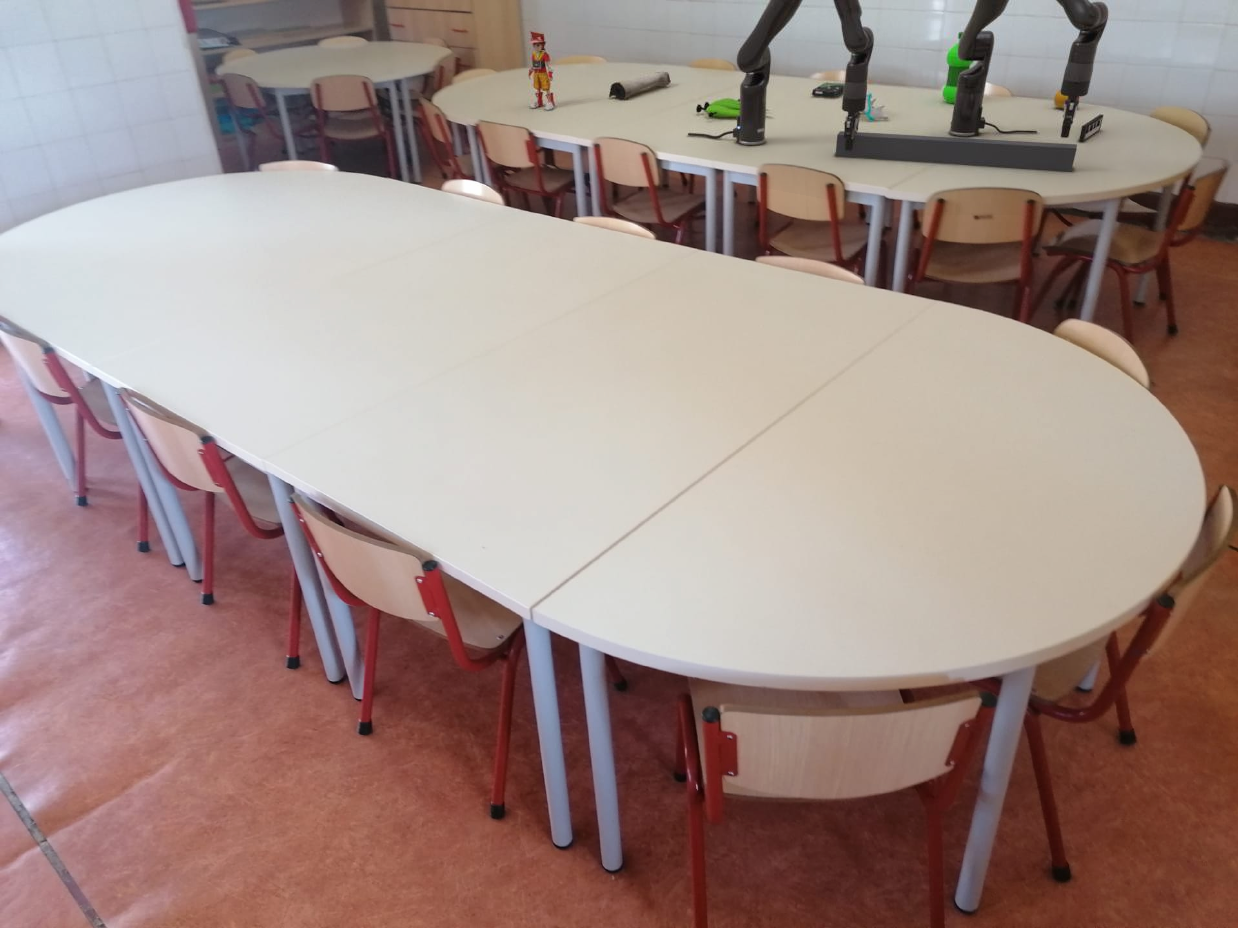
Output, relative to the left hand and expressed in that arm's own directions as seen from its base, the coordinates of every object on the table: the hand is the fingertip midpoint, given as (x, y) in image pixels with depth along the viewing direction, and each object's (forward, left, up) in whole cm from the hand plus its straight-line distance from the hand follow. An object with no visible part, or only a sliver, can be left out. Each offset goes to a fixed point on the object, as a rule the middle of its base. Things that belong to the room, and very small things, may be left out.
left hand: (849, 147), depth 303 cm
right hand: (+64, +13, +8) cm, 66 cm away
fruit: (+48, +89, -2) cm, 101 cm away
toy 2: (-62, +32, -2) cm, 69 cm away
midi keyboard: (+64, +55, -2) cm, 84 cm away
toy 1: (-144, +10, -2) cm, 144 cm away
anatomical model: (-13, +49, -2) cm, 51 cm away
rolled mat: (-120, +49, -2) cm, 130 cm away
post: (+32, +7, -2) cm, 33 cm away
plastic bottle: (+8, +83, -2) cm, 83 cm away
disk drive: (-43, +78, -2) cm, 88 cm away
